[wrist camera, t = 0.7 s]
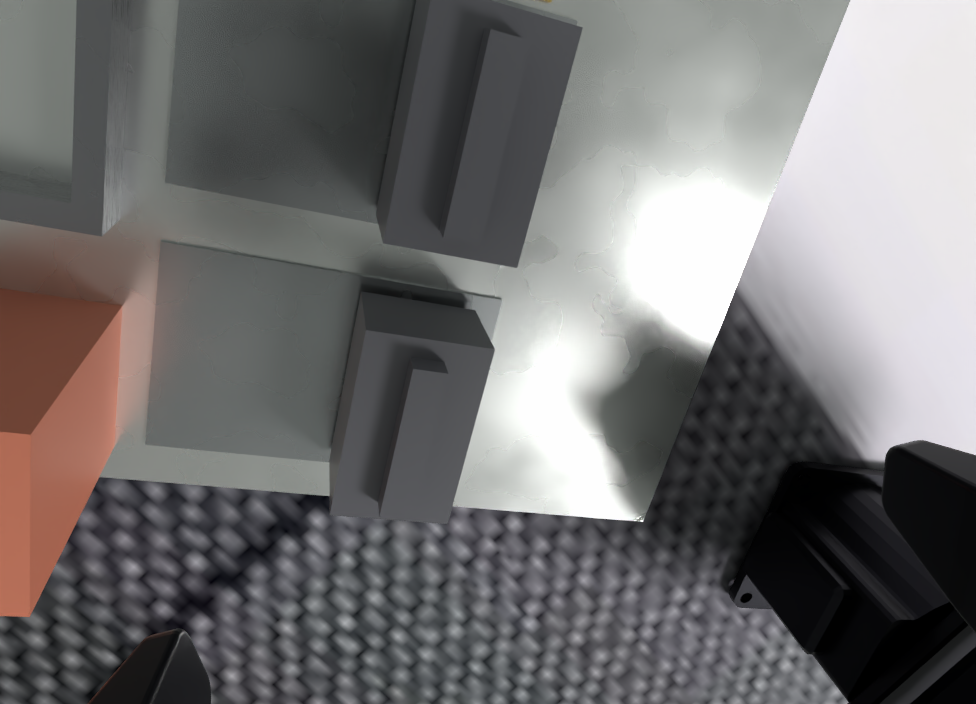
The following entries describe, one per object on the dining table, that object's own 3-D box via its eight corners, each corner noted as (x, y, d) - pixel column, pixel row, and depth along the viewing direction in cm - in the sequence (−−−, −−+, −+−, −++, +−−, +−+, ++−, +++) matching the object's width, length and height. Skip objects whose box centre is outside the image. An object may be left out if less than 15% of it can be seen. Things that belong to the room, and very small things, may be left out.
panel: (813, 1, 19) (892, -2, 16) (626, 494, 25) (662, 552, 22) (-329, -388, 12) (-512, -501, 10) (-216, 415, 18) (-309, 483, 15)
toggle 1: (547, 26, 16) (593, 27, 13) (493, 237, 18) (523, 276, 15) (418, -12, 15) (438, -18, 13) (375, 214, 17) (385, 251, 14)
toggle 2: (475, 310, 19) (500, 360, 16) (434, 469, 21) (450, 539, 18) (361, 291, 18) (366, 341, 15) (329, 459, 20) (329, 530, 17)
